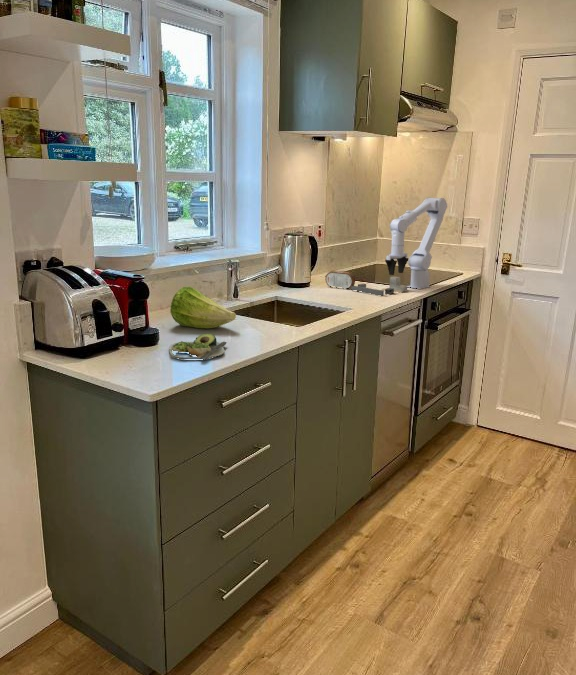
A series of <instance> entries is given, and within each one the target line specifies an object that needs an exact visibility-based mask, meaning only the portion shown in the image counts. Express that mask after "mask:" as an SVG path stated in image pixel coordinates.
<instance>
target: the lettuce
mask: <svg viewBox="0 0 576 675" xmlns="http://www.w3.org/2000/svg"><path fill="white" fill-rule="evenodd" d="M169 313H170V315H171V317H172V319H173V320H174V321H175V323H177V324H179V325H180V326H184V327H190V328H195V329H213V328H217V327H220V326H223V325H225V324H229V323H231V322H233V321H234V320H236V317H237V314H236V313H235V312H234V311H231V310H228V309H227V308H226V307H225V306H222V305H220V304H218V303H217V302H215V301H214V300H212V299H211V298H209V297H207V296H205V295H204V294H203V293H201V292H200V291H198V290H197V289H196V288H194V287H191V286H183V287H182V288H180V289H179V290H177V292H176V293H174V295H173V297H172V300H171V302H170V311H169Z"/></svg>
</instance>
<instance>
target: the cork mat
mask: <svg viewBox="0 0 576 675" xmlns="http://www.w3.org/2000/svg"><path fill="white" fill-rule="evenodd" d="M388 288H389V287H387V288H386V287H385V288H382V289H381V290H383V291H384V290H385V289H388ZM396 292H398V293H397V294H400V292H401V291H395V290H394V293H396ZM406 292H409V289H407V291H406Z"/></svg>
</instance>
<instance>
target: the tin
mask: <svg viewBox="0 0 576 675" xmlns="http://www.w3.org/2000/svg"><path fill="white" fill-rule="evenodd" d="M325 283H326V285H327V286H328V287H329V286H335V287H342V288H350V289H351V286H355V284H356V278H355V276H354V274H353V273H351V272H349V271H343V270H330V271H329V272H327V274H325Z"/></svg>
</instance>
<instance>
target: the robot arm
mask: <svg viewBox="0 0 576 675" xmlns="http://www.w3.org/2000/svg"><path fill="white" fill-rule="evenodd" d="M447 209H448V203H447V200H446V199H445V198H443V197H426V198H425V199H424V200H422V203H420V204H419V205H418V206H417V207H416V208H414V209H413V210H406V211H405V213H404V214H402V215H400V216H398V218H394V219H392V221H390V224H389V229H390V234H391V247H390V253H389V254H387V255H386V259H385V260H384V261H385V264H386V266H387V270H388V275H389V276H394V275H395V270H396V265H397V271H398V272H397V273H398V274H404V271H405V269H406V265H407V263H408V266H409V267H410V270H411V271H410V284H409V285H406V287H407V288H410V287H411V288H410V289H416V288H417V289H418V290H423V289H427V288H431V285H430V275H431V274H430V271H429V268H430V267H431V263H432V259H433V256H432V255H431V253H430V251H431V249H432V246H433V244H434V242H435V239H436V237H437V235H438V232H439V230H440V228H441V225H442V222H443V220H444V216H445V213H446V211H447ZM425 212H426V214H427V215H428V217H429V218H430V221H429V223H428V225H427V227H426V229H425V232H424V235H423V237H422V239H421V241H420V244H419V247H418V248H417V249H416V250H414V251H412V254H411V255H410V256H409V257H408V254H409V253H407V252H404V250H405V249H404V248H405V232H406V231H407V230H408V228H409V226H411V225H412V224H413V223H415V222H416V221H417V218H418V217H419V216H421V215H422V214H424V213H425Z"/></svg>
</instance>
